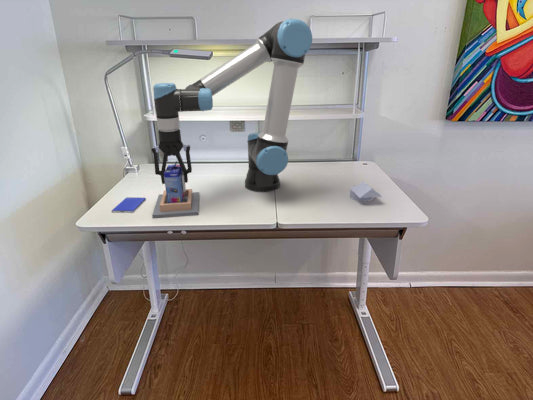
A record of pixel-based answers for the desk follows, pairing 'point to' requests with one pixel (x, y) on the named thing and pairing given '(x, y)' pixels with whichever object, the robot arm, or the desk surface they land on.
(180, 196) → the ink cartridge box
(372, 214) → the desk surface
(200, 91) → the robot arm
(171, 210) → the grey holder tray
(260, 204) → the desk surface
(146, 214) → the desk surface
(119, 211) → the hard drive
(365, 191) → the pale grey faceted rock
